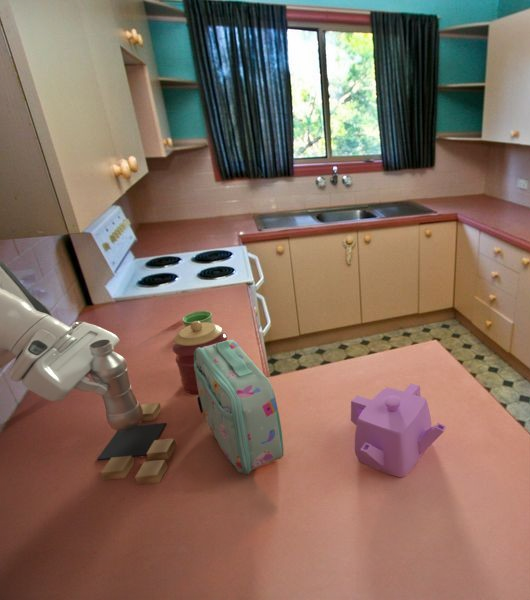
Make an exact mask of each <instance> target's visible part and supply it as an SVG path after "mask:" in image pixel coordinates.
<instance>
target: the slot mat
mask: <svg viewBox="0 0 530 600" xmlns="http://www.w3.org/2000/svg"><path fill="white" fill-rule="evenodd" d="M166 426H167V422H159V423H147V424H138V425H137V426H135V427H134V428H132V429H129V430H126V431H117V430H116V432H115V433H114V435H113V437H112V438H111V439H110V440H109V442H108V443H107V445H106V446H105V447H104V449H103V450H102V451H101V453H100V454H99V455H98V457H97V459H96V460H97V462H100V461H101V462H102V461H109V460H110V459H111V458H113V457H123V456H132V458H139V457H140V458H141V457H148V456H147V452H148V450H149V449H150V447H151V445H152V444H153V442H154V440H159V438H160V437H161V435H162V433H163V431H164V430H165V428H166Z"/></svg>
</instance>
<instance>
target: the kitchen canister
mask: <svg viewBox="0 0 530 600" xmlns="http://www.w3.org/2000/svg"><path fill="white" fill-rule="evenodd" d="M227 340H228V334H226V333H225V332H224V331H223V328H222V326H220V325H218V324H215V323H213V322H212V323H207V322H203V323H200V322H199V321H194V322H192V323H191V325H189V326H187V327H185V326H184V327H183V328H182V329H180V330H179V331H178V332H177V333H176V334H175V335H174V337H173V342H174V343H173V345H172V348H171V349H172V352H173V353H174V354H176V356H175V363H176V364H177V368H178V371H179V376H180V382H181V385H182V386H183V388H184V390H185V391H186V392H188V393H190V394H193V395H194V394H195V395H199V392H198V386H197V381H196V374H195V370H194V352H195V350H196V349H197V348H199V347H200V348H203V347H205V346H209V345H213V344H216V343H220V342H223V341H227Z"/></svg>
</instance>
